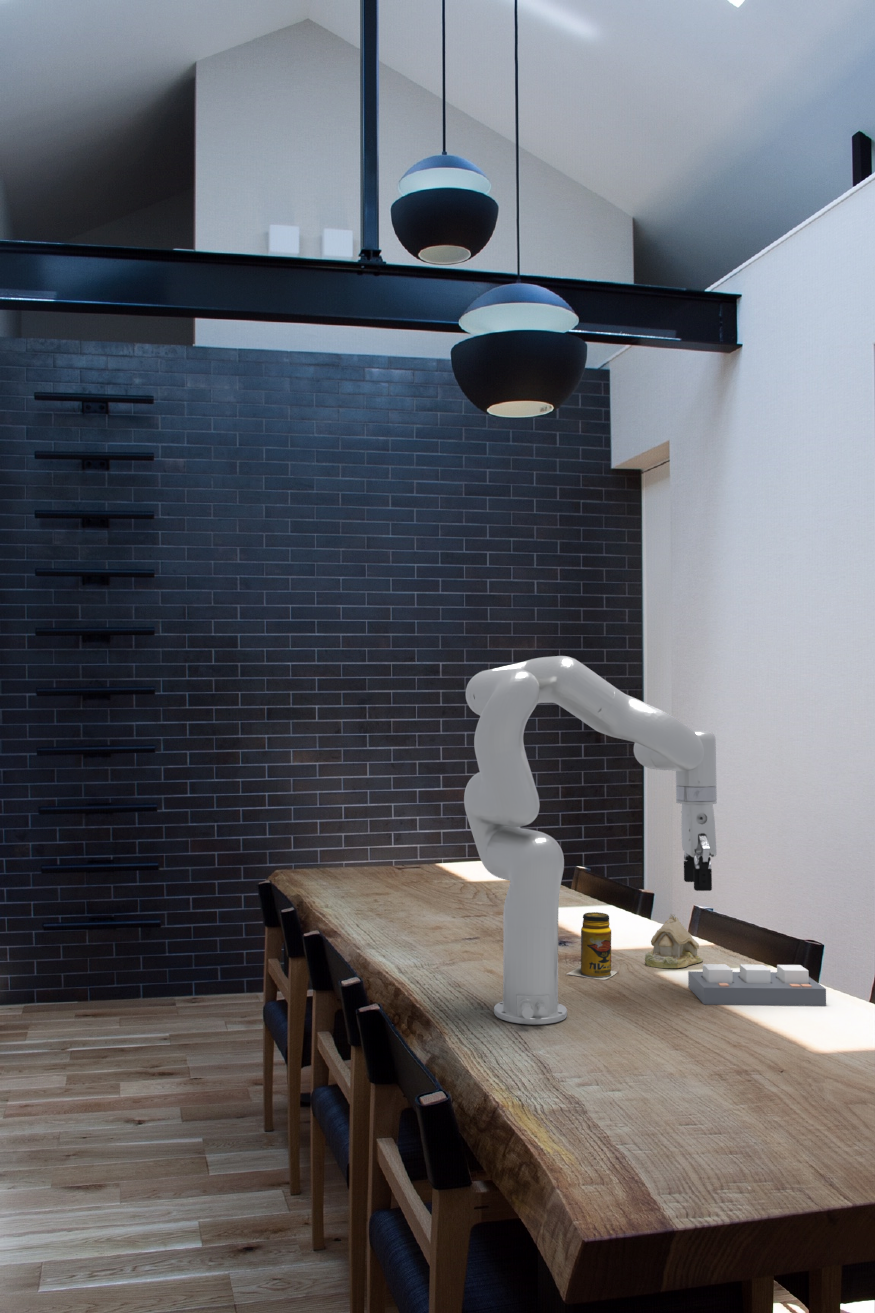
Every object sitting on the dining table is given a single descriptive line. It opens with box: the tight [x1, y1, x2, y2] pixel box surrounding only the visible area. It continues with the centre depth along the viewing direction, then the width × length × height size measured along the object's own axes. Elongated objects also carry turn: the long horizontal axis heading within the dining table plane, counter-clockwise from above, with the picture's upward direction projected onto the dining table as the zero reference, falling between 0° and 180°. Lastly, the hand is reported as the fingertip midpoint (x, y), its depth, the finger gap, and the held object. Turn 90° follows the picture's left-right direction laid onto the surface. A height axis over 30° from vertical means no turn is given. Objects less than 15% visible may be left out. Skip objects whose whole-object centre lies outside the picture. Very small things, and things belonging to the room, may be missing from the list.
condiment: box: [566, 911, 618, 981], centre depth 212 cm, size 7×8×12 cm
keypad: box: [687, 970, 827, 1007], centre depth 196 cm, size 12×22×3 cm, turn 90°
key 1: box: [776, 964, 810, 984], centre depth 196 cm, size 4×4×4 cm
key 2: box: [739, 963, 772, 983], centre depth 196 cm, size 4×4×4 cm
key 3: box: [702, 963, 733, 983], centre depth 196 cm, size 4×4×4 cm
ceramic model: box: [644, 913, 704, 969], centre depth 223 cm, size 14×11×10 cm
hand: (697, 886), depth 200 cm, fingers open, 9 cm apart
